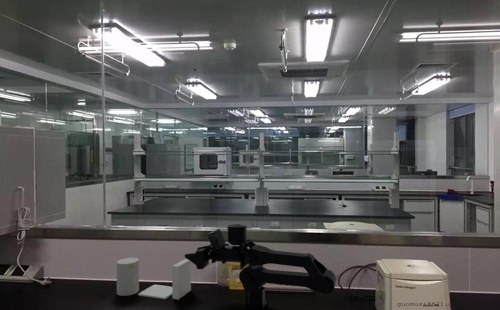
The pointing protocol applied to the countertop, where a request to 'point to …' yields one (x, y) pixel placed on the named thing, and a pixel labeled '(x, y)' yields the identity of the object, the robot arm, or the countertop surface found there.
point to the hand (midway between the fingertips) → (191, 252)
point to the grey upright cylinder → (127, 276)
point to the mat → (157, 292)
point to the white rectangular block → (181, 279)
